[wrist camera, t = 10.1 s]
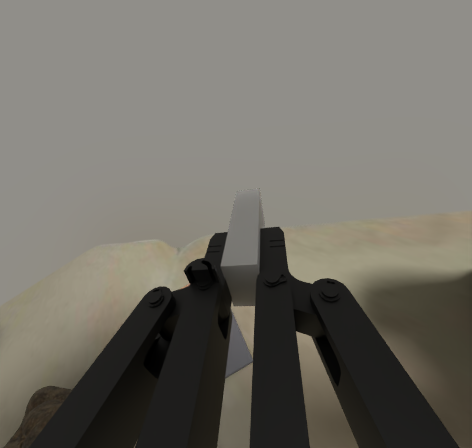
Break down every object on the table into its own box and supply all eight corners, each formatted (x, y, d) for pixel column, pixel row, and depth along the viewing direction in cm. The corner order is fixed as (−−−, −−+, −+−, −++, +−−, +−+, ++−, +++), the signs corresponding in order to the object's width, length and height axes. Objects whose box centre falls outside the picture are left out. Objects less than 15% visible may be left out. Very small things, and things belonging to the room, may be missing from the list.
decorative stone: (-18, 439, 33) (43, 358, 33) (63, 423, 41) (112, 358, 41) (-56, 617, 22) (37, 491, 22) (66, 547, 30) (133, 455, 30)
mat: (253, 361, 36) (252, 360, 36) (170, 411, 34) (168, 410, 34) (216, 275, 50) (215, 274, 49) (155, 308, 48) (154, 307, 47)
